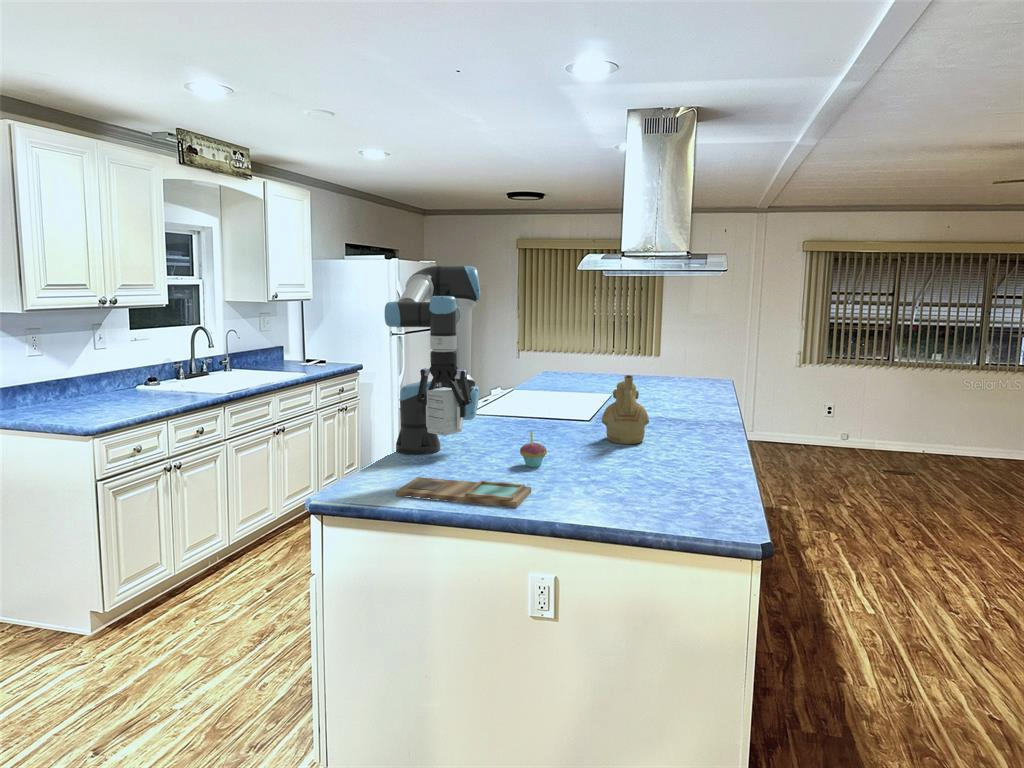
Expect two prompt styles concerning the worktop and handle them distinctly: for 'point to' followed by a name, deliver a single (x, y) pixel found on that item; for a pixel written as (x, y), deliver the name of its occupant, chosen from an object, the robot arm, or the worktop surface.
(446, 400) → the supplement box
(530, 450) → the cupcake
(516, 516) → the worktop surface
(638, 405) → the ceramic vessel
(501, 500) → the board
